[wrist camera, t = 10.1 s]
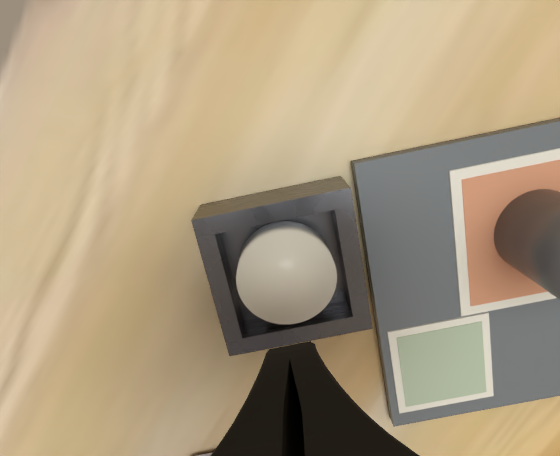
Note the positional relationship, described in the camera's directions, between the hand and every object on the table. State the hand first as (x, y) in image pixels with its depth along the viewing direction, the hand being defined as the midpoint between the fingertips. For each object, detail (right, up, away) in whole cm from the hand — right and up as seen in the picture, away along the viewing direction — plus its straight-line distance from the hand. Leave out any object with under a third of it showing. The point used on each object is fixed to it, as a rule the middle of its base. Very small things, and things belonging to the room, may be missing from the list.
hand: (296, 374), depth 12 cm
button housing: (0, +3, +9) cm, 9 cm away
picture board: (+11, +2, +10) cm, 15 cm away
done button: (0, +2, +8) cm, 8 cm away
